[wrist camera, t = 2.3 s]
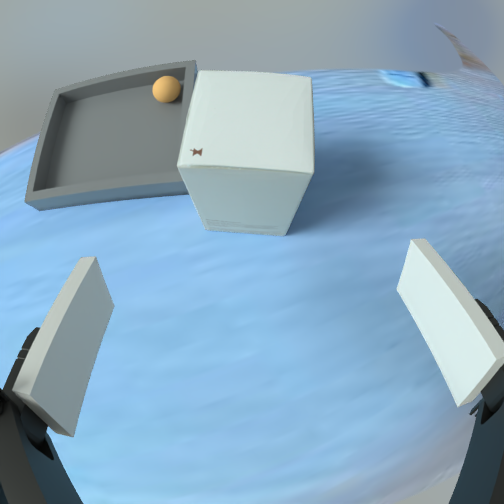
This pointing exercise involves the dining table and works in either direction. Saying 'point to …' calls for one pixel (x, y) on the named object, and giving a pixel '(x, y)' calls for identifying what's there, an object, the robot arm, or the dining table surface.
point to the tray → (111, 140)
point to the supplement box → (248, 149)
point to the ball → (166, 89)
